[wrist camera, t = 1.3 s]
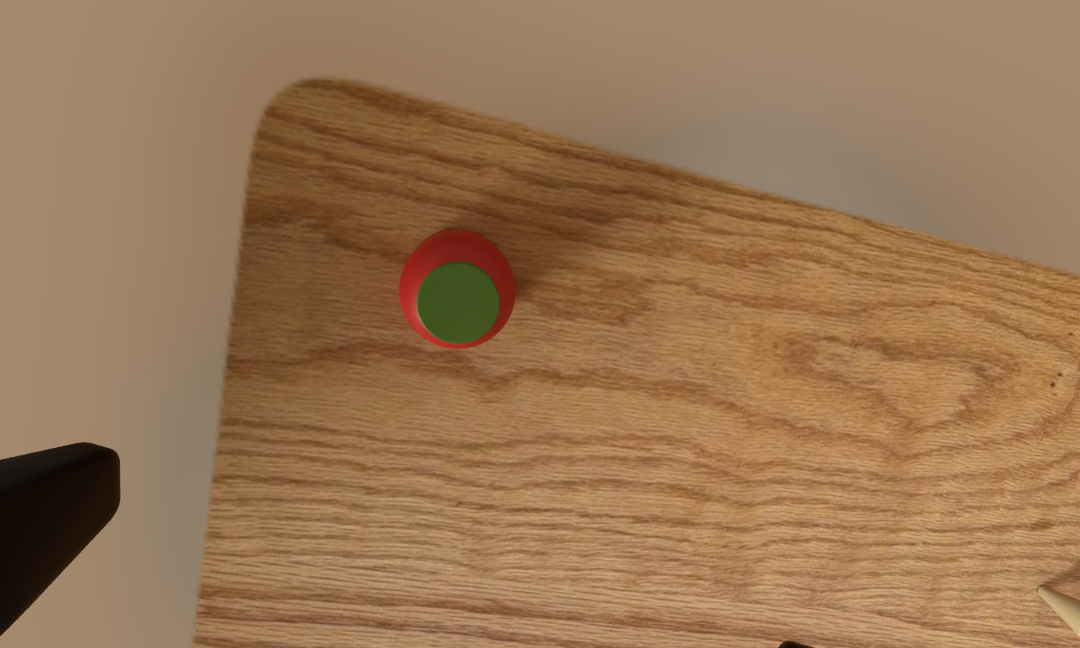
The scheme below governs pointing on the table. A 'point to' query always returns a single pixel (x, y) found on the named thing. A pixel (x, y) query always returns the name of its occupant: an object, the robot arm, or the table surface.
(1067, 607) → the ice cream cone
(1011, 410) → the table surface
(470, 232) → the sriracha sauce bottle
